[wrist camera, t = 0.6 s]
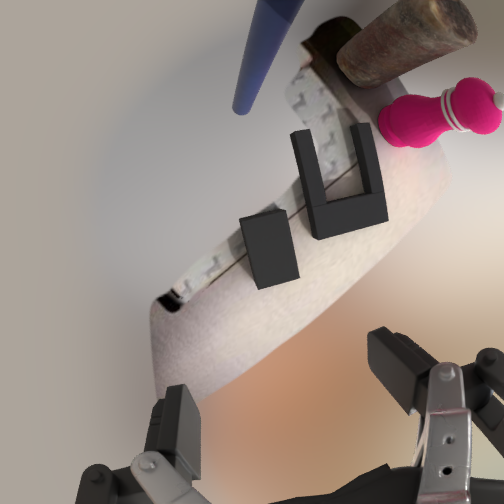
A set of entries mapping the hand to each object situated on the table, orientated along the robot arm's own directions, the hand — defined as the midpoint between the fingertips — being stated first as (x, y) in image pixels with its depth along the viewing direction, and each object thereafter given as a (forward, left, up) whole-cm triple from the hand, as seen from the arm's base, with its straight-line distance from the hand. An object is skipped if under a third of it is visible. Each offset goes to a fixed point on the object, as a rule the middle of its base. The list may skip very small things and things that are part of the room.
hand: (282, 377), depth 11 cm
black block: (0, +4, -23) cm, 24 cm away
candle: (-21, +22, -23) cm, 39 cm away
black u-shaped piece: (-6, +15, -23) cm, 28 cm away
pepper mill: (-12, +26, -23) cm, 37 cm away
